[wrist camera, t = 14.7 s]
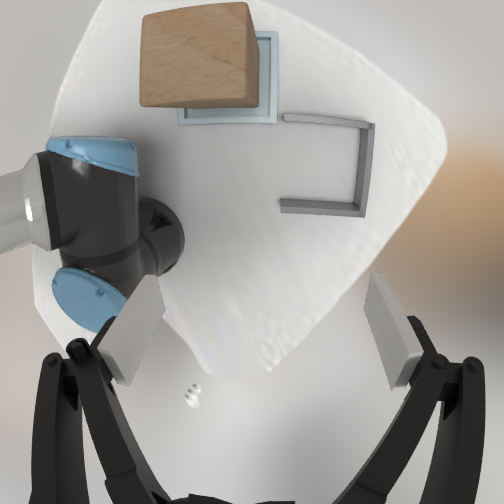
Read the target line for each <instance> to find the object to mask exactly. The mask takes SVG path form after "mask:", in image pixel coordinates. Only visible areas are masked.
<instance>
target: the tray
mask: <svg viewBox="0 0 504 504" xmlns="http://www.w3.org/2000/svg"><path fill="white" fill-rule="evenodd" d="M255 34H256V38H257V42H258V46H259V50H260V59H259V105H258V107H256V108H209V109H188V108H178V125H192V124H212V123H275V124H277V88H278V32H276V31H255Z"/></svg>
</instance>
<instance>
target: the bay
mask: <svg viewBox="0 0 504 504" xmlns="http://www.w3.org/2000/svg"><path fill="white" fill-rule="evenodd" d="M283 121H299V122H312V123H324V124H333V125H342V126H350V127H358V128H361V133H360V147H359V159H358V169H357V179H356V188H355V196H354V204H352V203H339V202H325V201H310V200H291V199H281V201H280V208H281V213H299V214H317V215H333V216H348V217H361V218H365V213H366V207H367V200H368V192H369V185H370V176H371V167H372V158H373V147H374V134H375V123H368V122H362V121H355V120H347V119H339V118H330V117H320V116H309V115H294V114H283Z"/></svg>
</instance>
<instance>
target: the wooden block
mask: <svg viewBox="0 0 504 504" xmlns="http://www.w3.org/2000/svg"><path fill="white" fill-rule="evenodd" d="M259 59H260V50H259V46H258V42H257V38H256V34H255V30H254V26H253V22H252V18H251V14H250V11H249V7H248V5H247V3H245V2H231V3H217V4H207V5H199V6H191V7H184V8H178V9H173V10H167V11H162V12H158V13H153V14H149V15H145V16H144V17H143V19H142V32H141V49H140V105H141V106H143V107H166V108H188V109H209V108H256V107H258V105H259Z"/></svg>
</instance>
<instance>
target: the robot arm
mask: <svg viewBox="0 0 504 504" xmlns="http://www.w3.org/2000/svg"><path fill="white" fill-rule="evenodd" d="M46 149H47V151H44V152H40V153H35V154H33V155H32V156H31V158H30V159H29V160H28V162H27V163H26V165H25V166H24V168H23V169H21V170H20V171H17V172H13V173H9V174H6V175H2V176H0V254H3V253H6V252H8V251H11V250H14V249H17V248H20V247H23V246H26V245H29V244H36V245H38V246H39V247H41V248H43V249H44V250H46V251H48V252H49V251H52V250H55V249H58V248H59V251H60V256H61V260H62V268H60V269H59V270H57V271H56V274H55V277H54V278H53V281H52V290H53V294H54V297H55V299H56V301H57V303H58V304H59V306H60V307H61V309H62V310H63V311H64V312H65V313H66V314H67V315H68V316H69V317H70V318H71V319H72V320H73V321H75V322H76V323H77V324H78V325H80V326H82V327H83V328H85V329H87V330H90V331H92V332H95V333H99V334H97V335H96V337H95V338H94V340H93V342H92V343H91V345H90V346H89V344H88V342H87V340H86V339H84V338H77V339H74V340H72V341H71V342H70V343H69V344H68V345H67V347H66V352H67V354H68V355H69V357H70V359H63V358H62V356H61V355H60V354H59V353H51V354H49V355H48V356H46V357H45V359H44V360H43V363H42V369H41V373H40V379H39V384H38V392H37V397H36V405H35V413H34V424H33V436H32V457H31V458H32V459H31V476H32V492H31V496H30V500H29V504H90V503H89V496H88V490H87V481H86V473H85V463H84V451H83V435H82V434H83V433H82V406H83V410H84V414H85V417H86V421H87V424H88V427H89V431H90V434H91V437H92V440H93V443H94V446H95V449H96V451H97V454H98V457H99V460H100V462H101V465H102V467H103V470H104V472H105V475H106V478H107V479H106V480H105V486H106V489H107V491H108V494H109V496H110V498H111V500H112V502H113V504H232V503H229V502H226V501H223V500H220V499H217V498H214V497H207V496H200V495H194V494H189V496H188V497H187V498H179V499H175V500H171V499H170V497H169V496H168V494H167V493H166V492H165V491H164V490H163V488H162V487H161V486H160V484H159V483H158V481H157V479H156V477H155V476H154V474H153V472H152V470H151V469H150V467H149V465H148V463H147V461H146V459H145V457H144V455H143V454H142V452H141V450H140V448H139V446H138V444H137V442H136V440H135V437H134V435H133V433H132V431H131V429H130V427H129V425H128V422H127V420H126V417H125V415H124V413H123V410H122V408H121V405H120V403H119V400H118V398H117V395H116V393H115V390H114V387H113V385H112V383H111V380H112V378H113V377H114V379H115V381H116V382H117V384H122V385H127V386H130V384H131V381H132V379H133V377H134V375H135V372H136V370H137V368H138V366H139V364H140V361H141V359H142V357H143V355H144V353H145V350H146V348H147V346H148V344H149V342H150V340H151V338H152V336H153V334H154V332H155V329H156V328H157V325H158V323H159V321H160V319H161V317H162V315H163V313H164V311H165V306H164V303H163V299H162V296H161V292H160V288H159V284H158V280H157V277H158V276H160V275H162V274H164V273H166V272H168V271H169V270H170V269H171V268H173V266H174V265H175V264H176V263H177V261H178V260H179V258H180V256H181V254H182V252H183V248H184V233H183V229H182V226H181V224H180V222H179V220H178V218H177V217H176V215H175V214H174V213H173V212H172V211H171V210H170V209H169V208H168V207H167V206H165V205H164V204H162V203H161V202H159V201H156V200H154V199H150V198H139V196H138V177H140V174H139V172H138V154H137V148H136V146H135V144H134V143H133V142H132V141H131V140H128V139H125V138H118V137H105V136H63V137H52V138H50V139H49V140H48V143H47V145H46ZM364 311H365V314H366V317H367V319H368V322H369V325H370V328H371V330H372V333H373V336H374V339H375V342H376V345H377V347H378V350H379V353H380V356H381V360H382V363H383V366H384V369H385V372H386V375H387V378H388V382H389V385H390V388H391V391H395V390H400V389H405V387H406V386H407V384H408V382H409V383H410V386H411V389H410V391H409V392H408V394H407V396H406V397H405V399H404V402H403V404H402V405H401V407H400V409H399V411H398V412H397V414H396V416H395V418H394V419H393V421H392V423H391V424H390V426H389V428H388V430H387V431H386V433H385V434H384V436H383V437H382V439H381V440H380V442H379V444H378V445H377V447H376V448H375V450H374V451H373V452H372V454H371V455H370V457H369V458H368V460H367V461H366V462H365V464H364V465H363V466H362V468H361V469H360V471H359V472H358V473H357V475H356V476H355V477H354V479H353V480H352V481H351V482H350V483H349V485H348V486H347V487H346V489H345V490H344V491H343V492H342V493H341V494H340V496H339V497H338V498H337V499H336V500H335V501H334V502H333V503H332V504H385V502H386V499H387V495H388V493H389V492H390V490H391V489H392V487H393V486H394V484H395V483H396V481H397V480H398V478H399V476H400V475H401V473H402V471H403V470H404V468H405V466H406V465H407V463H408V461H409V459H410V458H411V456H412V454H413V452H414V450H415V448H416V446H417V445H418V443H419V441H420V439H421V436H422V435H423V432H424V430H425V428H426V426H427V424H428V422H429V420H430V417H431V415H432V413H433V411H434V408H435V406H436V403H437V401H442V402H441V410H440V417H439V424H438V431H437V437H436V442H435V447H434V452H433V456H432V461H431V465H430V469H429V473H428V477H427V480H426V484H425V487H424V491H423V494H422V497H421V500H420V503H419V504H474V503H475V498H476V494H477V489H478V483H479V478H480V472H481V465H482V456H483V447H484V435H485V375H484V366H483V364H482V362H481V361H480V360H479V359H478V358H475V357H467V358H466V359H465V360H464V361H463V363H451V362H449V361H448V359H447V358H446V357H445V356H443V355H442V354H438V353H437V351H436V349H435V347H434V346H433V343H432V342H431V340H430V338H429V336H428V335H427V332H426V330H425V329H424V326H423V325H422V323H421V321H420V320H419V319H418V318H416V317H415V316H406V315H405V313H404V311H403V309H402V307H401V305H400V303H399V301H398V300H397V298H396V296H395V294H394V292H393V291H392V289H391V287H390V285H389V283H388V282H387V280H386V278H385V276H384V275H383V273H371V274H370V280H369V285H368V291H367V295H366V300H365V305H364ZM257 504H295V501H268V502H262V503H257Z"/></svg>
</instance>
